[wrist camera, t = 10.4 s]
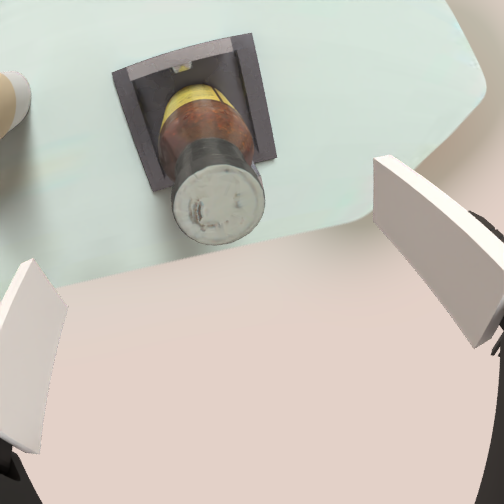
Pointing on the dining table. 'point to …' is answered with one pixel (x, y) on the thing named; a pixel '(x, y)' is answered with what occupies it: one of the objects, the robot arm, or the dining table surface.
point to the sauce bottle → (210, 166)
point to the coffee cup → (13, 100)
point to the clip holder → (190, 73)
